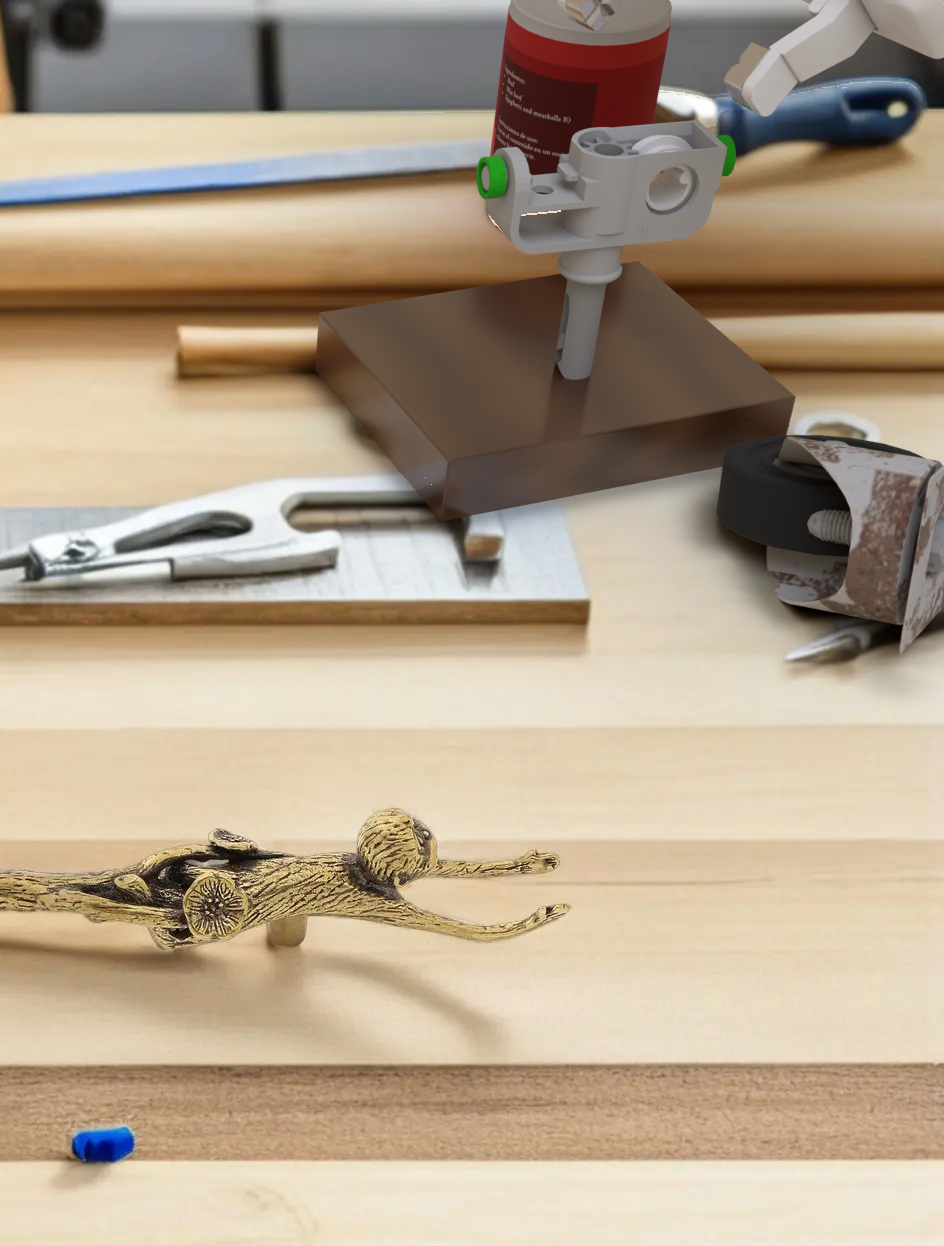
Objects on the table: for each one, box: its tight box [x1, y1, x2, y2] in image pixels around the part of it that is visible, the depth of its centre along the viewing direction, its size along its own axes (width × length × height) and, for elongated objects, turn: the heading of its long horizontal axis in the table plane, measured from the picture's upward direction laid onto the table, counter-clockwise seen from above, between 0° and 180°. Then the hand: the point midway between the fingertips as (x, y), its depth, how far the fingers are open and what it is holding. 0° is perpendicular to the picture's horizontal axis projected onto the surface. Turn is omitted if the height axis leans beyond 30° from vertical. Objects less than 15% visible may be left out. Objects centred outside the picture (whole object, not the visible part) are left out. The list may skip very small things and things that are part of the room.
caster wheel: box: [716, 434, 944, 655], centre depth 81 cm, size 7×11×10 cm
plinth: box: [314, 260, 797, 522], centre depth 90 cm, size 16×13×3 cm
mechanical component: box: [475, 119, 737, 380], centre depth 85 cm, size 3×10×10 cm, turn 103°
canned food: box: [489, 0, 673, 194], centre depth 102 cm, size 8×8×11 cm
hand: (655, 58), depth 79 cm, fingers open, 8 cm apart
